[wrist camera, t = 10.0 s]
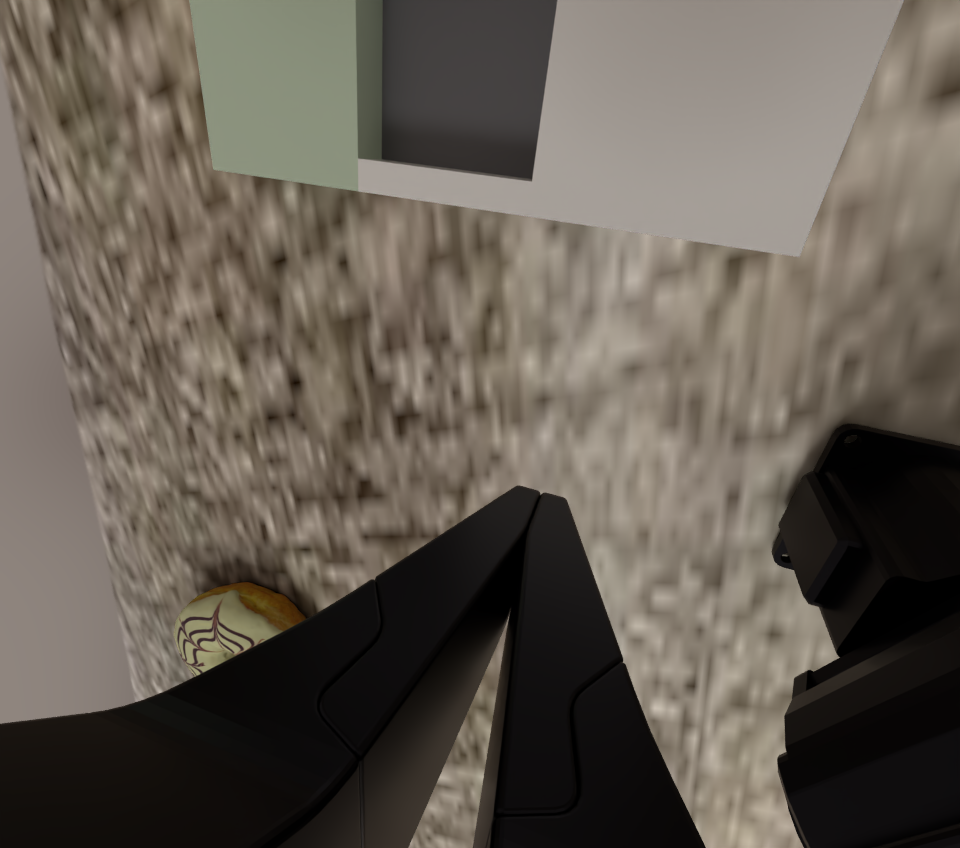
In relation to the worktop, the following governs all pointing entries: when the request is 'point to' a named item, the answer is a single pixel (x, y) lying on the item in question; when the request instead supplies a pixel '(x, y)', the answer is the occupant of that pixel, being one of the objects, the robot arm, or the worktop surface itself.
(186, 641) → the decorated donut
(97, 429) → the worktop surface
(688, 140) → the trap deck
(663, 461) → the worktop surface
